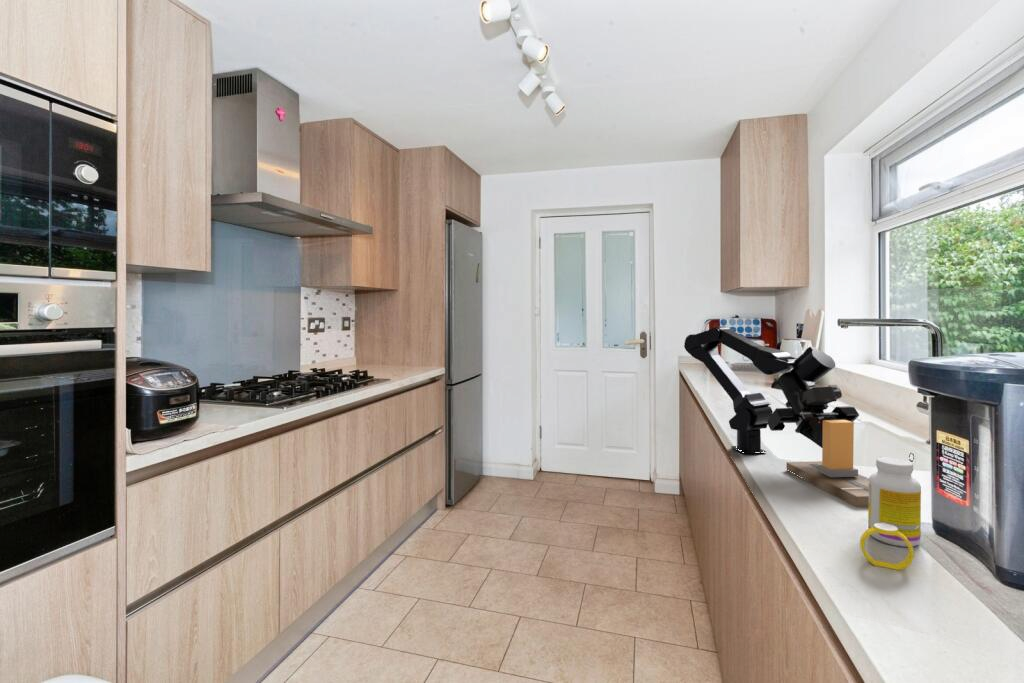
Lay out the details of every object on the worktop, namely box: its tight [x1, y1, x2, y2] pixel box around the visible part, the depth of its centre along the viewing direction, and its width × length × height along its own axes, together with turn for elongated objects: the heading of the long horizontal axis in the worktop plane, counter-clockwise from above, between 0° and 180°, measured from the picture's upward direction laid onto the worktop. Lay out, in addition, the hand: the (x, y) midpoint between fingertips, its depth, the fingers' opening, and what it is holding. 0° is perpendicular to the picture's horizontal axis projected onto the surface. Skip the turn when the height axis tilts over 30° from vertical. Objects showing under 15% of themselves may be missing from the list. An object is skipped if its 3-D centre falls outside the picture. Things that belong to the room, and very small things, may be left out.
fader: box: [818, 420, 859, 477], centre depth 102 cm, size 4×6×12 cm, turn 92°
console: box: [786, 460, 869, 508], centre depth 102 cm, size 22×10×2 cm, turn 2°
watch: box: [859, 523, 915, 571], centre depth 69 cm, size 6×3×6 cm, turn 59°
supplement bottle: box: [867, 456, 922, 548], centre depth 77 cm, size 7×7×13 cm
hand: (830, 450), depth 105 cm, fingers closed
